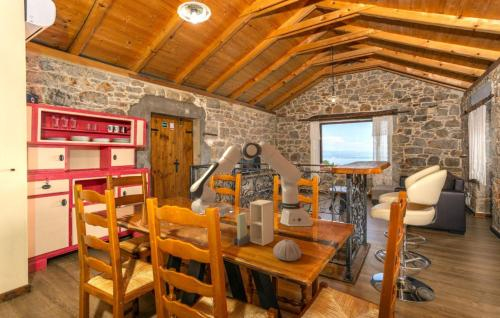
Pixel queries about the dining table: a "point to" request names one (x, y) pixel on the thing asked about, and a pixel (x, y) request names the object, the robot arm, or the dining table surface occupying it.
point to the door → (241, 225)
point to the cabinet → (259, 224)
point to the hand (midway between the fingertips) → (227, 213)
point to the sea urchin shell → (287, 250)
